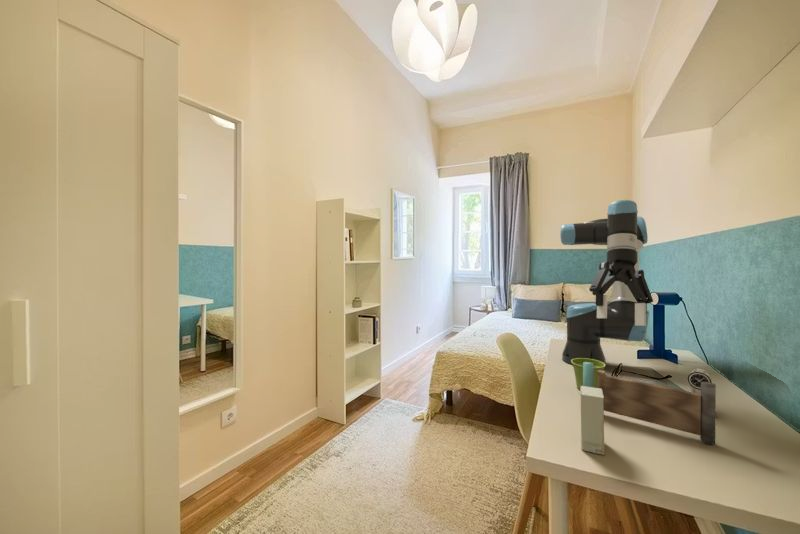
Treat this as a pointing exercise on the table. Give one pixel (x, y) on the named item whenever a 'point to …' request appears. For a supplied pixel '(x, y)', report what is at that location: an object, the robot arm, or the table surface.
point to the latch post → (588, 374)
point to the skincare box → (592, 419)
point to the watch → (697, 379)
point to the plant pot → (579, 370)
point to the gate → (662, 404)
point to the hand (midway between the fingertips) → (621, 322)
